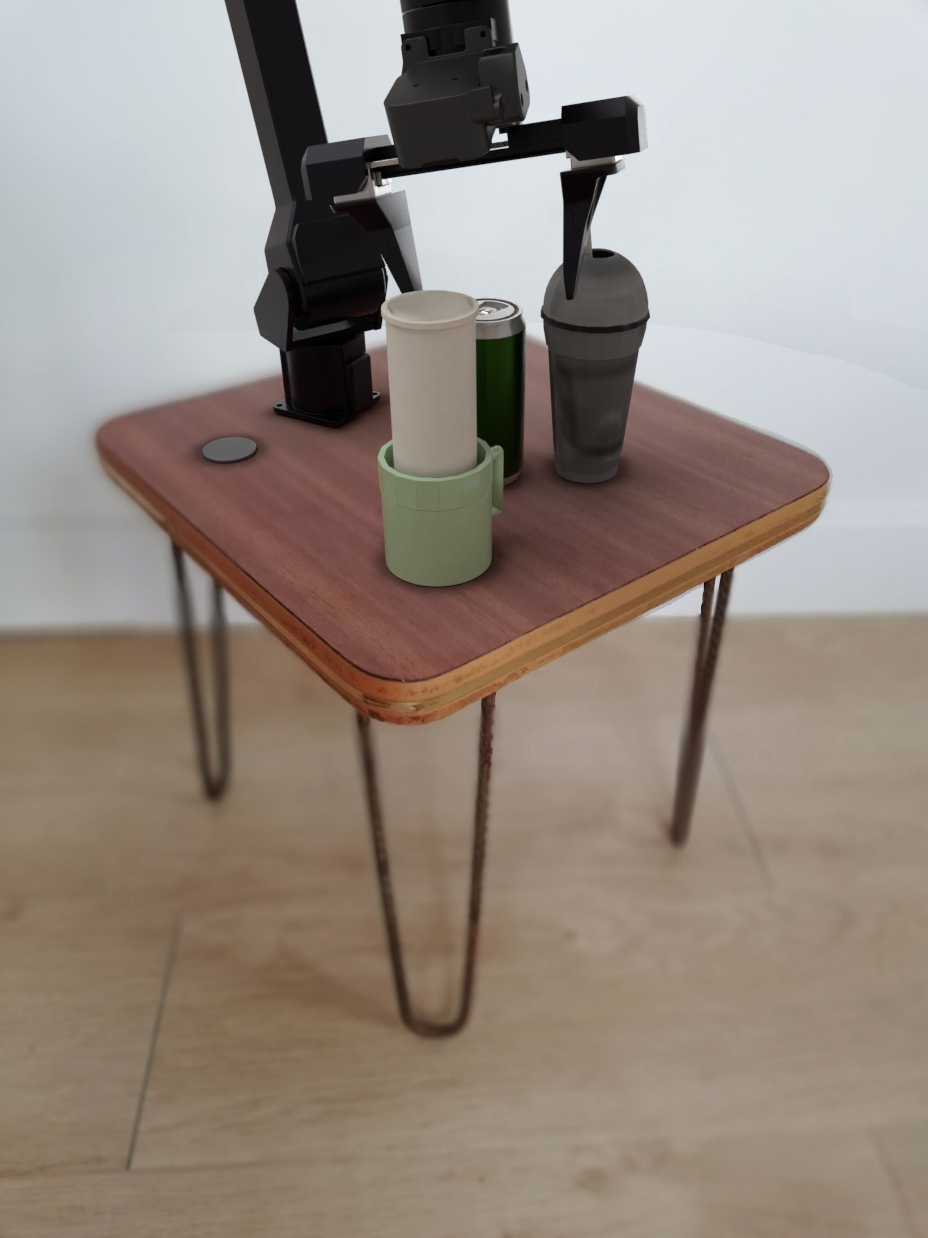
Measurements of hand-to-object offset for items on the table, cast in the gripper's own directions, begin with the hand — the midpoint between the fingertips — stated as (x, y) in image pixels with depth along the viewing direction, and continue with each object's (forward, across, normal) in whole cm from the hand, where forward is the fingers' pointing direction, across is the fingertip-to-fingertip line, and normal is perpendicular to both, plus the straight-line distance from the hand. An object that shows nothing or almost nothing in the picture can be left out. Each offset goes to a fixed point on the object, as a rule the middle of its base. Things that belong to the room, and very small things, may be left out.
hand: (493, 307), depth 64 cm
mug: (+15, -5, -2) cm, 16 cm away
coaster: (+10, -24, +9) cm, 27 cm away
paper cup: (+10, -4, -3) cm, 11 cm away
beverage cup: (+14, +3, +12) cm, 18 cm away
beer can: (+13, -4, +10) cm, 17 cm away
